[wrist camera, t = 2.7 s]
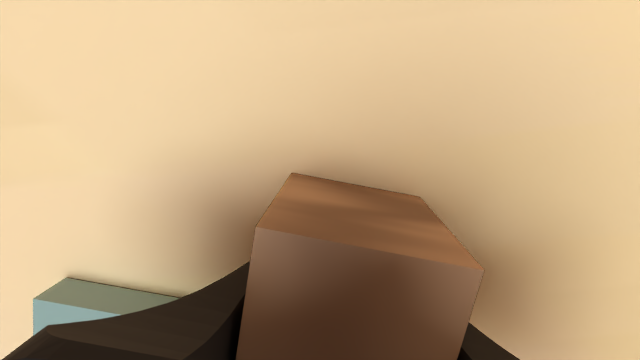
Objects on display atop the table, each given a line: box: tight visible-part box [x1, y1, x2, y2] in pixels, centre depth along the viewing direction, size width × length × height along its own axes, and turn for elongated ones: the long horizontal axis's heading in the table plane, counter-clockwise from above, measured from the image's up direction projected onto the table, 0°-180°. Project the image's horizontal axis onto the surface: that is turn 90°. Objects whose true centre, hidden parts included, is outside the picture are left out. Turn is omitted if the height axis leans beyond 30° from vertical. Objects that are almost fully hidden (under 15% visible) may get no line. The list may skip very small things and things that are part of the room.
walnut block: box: [236, 173, 484, 360], centre depth 10 cm, size 4×4×6 cm
